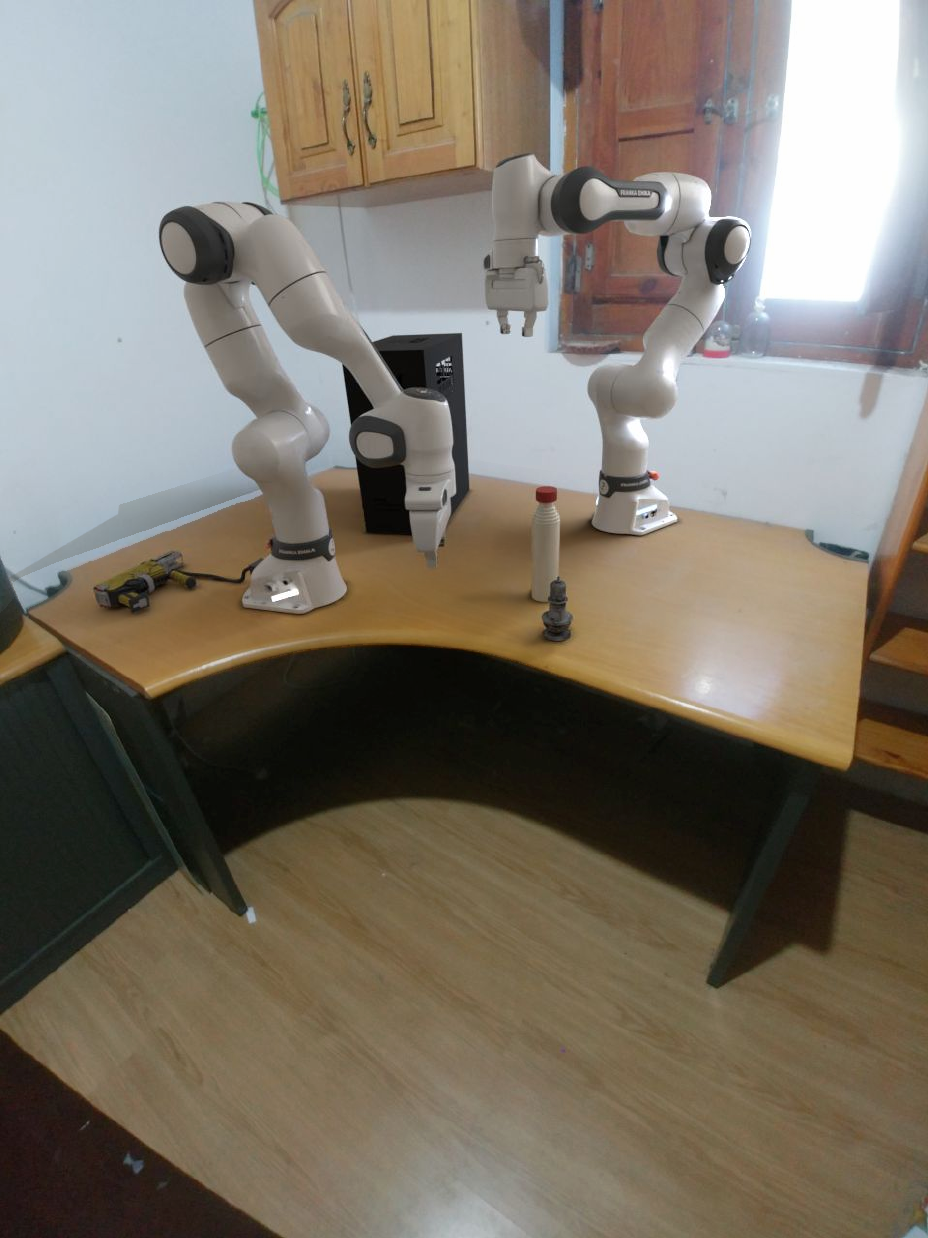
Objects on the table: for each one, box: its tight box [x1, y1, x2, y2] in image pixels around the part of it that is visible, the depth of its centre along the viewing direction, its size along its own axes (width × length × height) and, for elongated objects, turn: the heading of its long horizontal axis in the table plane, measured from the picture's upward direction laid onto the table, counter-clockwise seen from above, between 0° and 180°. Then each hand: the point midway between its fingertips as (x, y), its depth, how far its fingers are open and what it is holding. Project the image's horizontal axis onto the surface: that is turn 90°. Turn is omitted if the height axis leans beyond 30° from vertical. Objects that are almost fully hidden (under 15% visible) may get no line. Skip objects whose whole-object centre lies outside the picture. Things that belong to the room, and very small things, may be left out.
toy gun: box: [92, 549, 197, 614], centre depth 138 cm, size 5×24×15 cm
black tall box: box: [341, 332, 470, 535], centre depth 165 cm, size 38×20×45 cm, turn 167°
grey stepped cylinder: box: [540, 576, 574, 642], centre depth 110 cm, size 6×6×12 cm
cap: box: [535, 485, 558, 503], centre depth 116 cm, size 4×4×2 cm
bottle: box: [530, 502, 561, 603], centre depth 121 cm, size 6×6×23 cm
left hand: (436, 555), depth 115 cm, fingers open, 8 cm apart
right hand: (516, 335), depth 125 cm, fingers open, 8 cm apart
